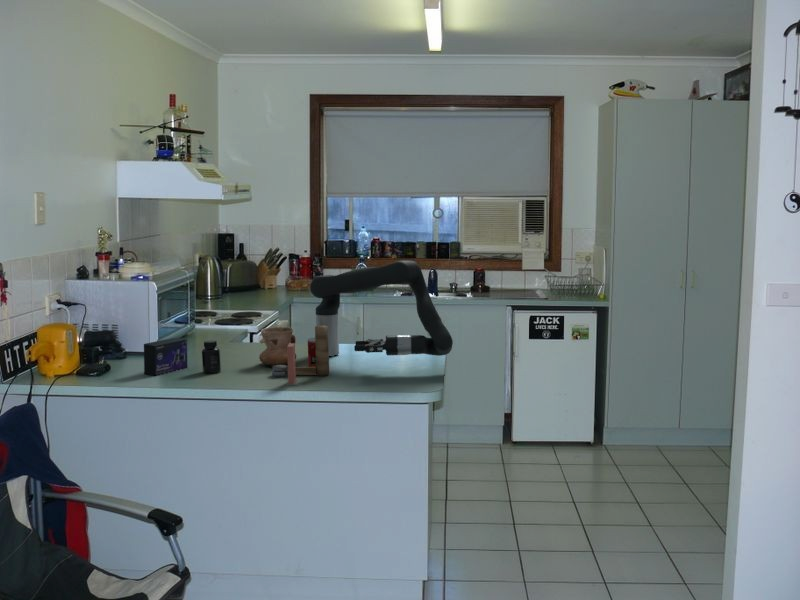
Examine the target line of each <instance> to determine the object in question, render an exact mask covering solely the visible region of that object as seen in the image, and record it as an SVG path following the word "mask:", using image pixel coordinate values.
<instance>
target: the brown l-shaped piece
mask: <svg viewBox="0 0 800 600" xmlns="http://www.w3.org/2000/svg"><path fill="white" fill-rule="evenodd" d="M314 338H315V345H316V367H309V366H295V367H296V376H311V375H312V376H313V375H315V376H320V377H323V376H328V375H330V357H329V346H328V326H316V325H315V326H314ZM272 370H273V371H285V370H288V365H276V366H272Z"/></svg>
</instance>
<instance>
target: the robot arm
mask: <svg viewBox="0 0 800 600" xmlns="http://www.w3.org/2000/svg"><path fill="white" fill-rule="evenodd" d="M387 285H388V286H389V285H399V286H405V285H408V286H409V287H410V288H411V291H412V292H413V295H414V297H415V301H416V313H417V316H418V318H419V320H420V322H421V325H422V326H423V329H424V330H425V331H426V332H427V333H428V334H429V336H430V337H426V336H425V335H422V334H416V335H413V334H412V335H411V334H410V335H409V334H391V335H389V334H388V335H386V336H385V340H384V339H383V338H368V339H366V340H356V341H355V345H354V347H353V348H354V349H353V350H354V352H365V353H368V354H369V353H370V354H371V353H383V352H384V351H385V354H386V356H407V355H422V354H424V355H429V356H437V357H441V356H446V355H448V354H450V352H452V349H453V345H454V344H453V343H454V342H453V341H454V340H453V337H452V335H451V333H450V331H449V330H448V328H447V327H446V326H445V324H444V323H443V322H442V319H441V316H440V314H439V313H438V311H437V309H436V307H435V305H434V303H433V301H432V299H431V295H430V293H429V289H428V286H427V284H426V281H425V277H424V274H423V271H422V268H421V267H420V264H419V263H417V262H416V261H415V260H414V261H413V260H396V261H395V262H391V263H388V264H385V265H381V266H370V267H362V268H356V269H353V270H349V271H346V272H343V273H339V274H335V275H334V274H326V275H325V274H324V275H318V276H316V277H314V278H313V279H312V280H311V282H310V284H309V291H310V293H311V294H312V295H313V296H314V297H316V298H317V299H322V300H321V302H320V303H319V304H318V305H317V306H316V308H315V326H328V346H329V356H332V357H335V356H334V355H337V356H339V355H340V344H339V343H340V341H339V339H340V338H339V308H340V304H341V294H352V293H353V294H354V293H364V292H371V291H372V290H375V289H378V288H380V287H382V286H387ZM338 354H339V355H338Z"/></svg>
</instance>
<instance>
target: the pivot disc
mask: <svg viewBox="0 0 800 600" xmlns="http://www.w3.org/2000/svg"><path fill="white" fill-rule="evenodd" d="M271 377H273V378H286V377H288V370H285V371H273V369H272V370H271Z"/></svg>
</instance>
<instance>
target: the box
mask: <svg viewBox="0 0 800 600" xmlns="http://www.w3.org/2000/svg"><path fill="white" fill-rule="evenodd" d="M143 365H144V366H143V369H144V370H143V373H144V375H146V374H149V375H148V376H152V375H158V376H161V375H160V374H162V375H164V373H166V374H169V373H168V372H170V373H173V372H172V371H174V372H177V371H176V370H178V371H181V370H180V369H182V370H185V368H186V369H188V339H187V338H181V337H176V336H175V337H171V338H167V339H162V340H158V341H152V342H147V343H144V344H143Z"/></svg>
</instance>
